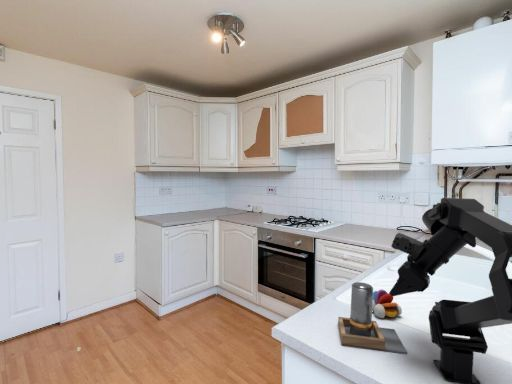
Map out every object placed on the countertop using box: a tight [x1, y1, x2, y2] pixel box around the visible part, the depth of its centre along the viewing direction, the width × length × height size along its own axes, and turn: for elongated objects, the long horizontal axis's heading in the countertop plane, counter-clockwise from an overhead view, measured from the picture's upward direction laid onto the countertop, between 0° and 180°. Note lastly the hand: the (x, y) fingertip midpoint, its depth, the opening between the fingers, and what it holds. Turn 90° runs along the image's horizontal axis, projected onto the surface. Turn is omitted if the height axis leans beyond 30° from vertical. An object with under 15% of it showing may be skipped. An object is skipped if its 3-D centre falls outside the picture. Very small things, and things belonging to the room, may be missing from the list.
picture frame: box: [337, 316, 408, 355], centre depth 73 cm, size 11×15×2 cm
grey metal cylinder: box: [349, 281, 374, 337], centre depth 73 cm, size 5×5×13 cm
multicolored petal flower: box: [372, 289, 403, 319], centre depth 88 cm, size 8×10×7 cm
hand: (394, 288), depth 72 cm, fingers open, 9 cm apart
